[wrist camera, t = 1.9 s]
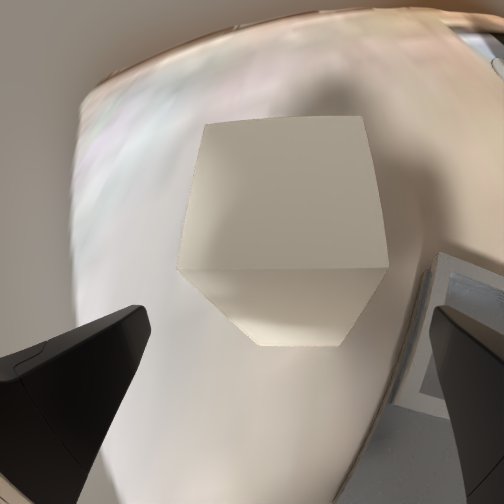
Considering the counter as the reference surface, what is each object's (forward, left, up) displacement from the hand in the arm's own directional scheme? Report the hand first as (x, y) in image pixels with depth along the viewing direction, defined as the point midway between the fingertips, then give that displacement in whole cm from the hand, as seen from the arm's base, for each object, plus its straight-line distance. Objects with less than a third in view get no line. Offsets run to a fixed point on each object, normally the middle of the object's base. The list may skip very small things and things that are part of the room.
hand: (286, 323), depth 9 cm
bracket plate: (+3, -12, -11) cm, 16 cm away
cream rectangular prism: (+3, +2, -11) cm, 11 cm away
